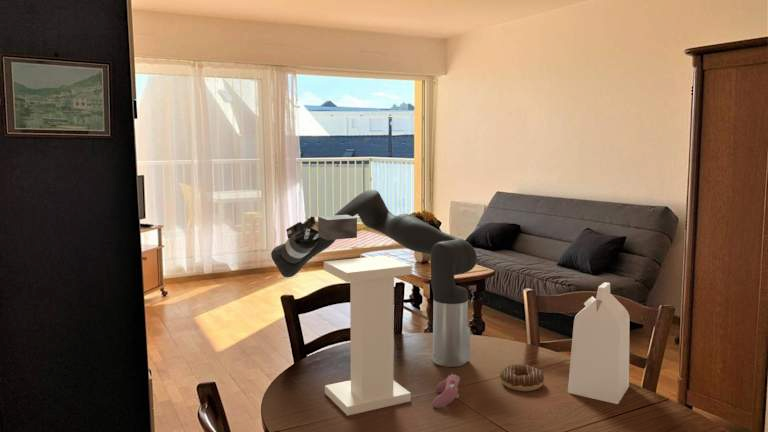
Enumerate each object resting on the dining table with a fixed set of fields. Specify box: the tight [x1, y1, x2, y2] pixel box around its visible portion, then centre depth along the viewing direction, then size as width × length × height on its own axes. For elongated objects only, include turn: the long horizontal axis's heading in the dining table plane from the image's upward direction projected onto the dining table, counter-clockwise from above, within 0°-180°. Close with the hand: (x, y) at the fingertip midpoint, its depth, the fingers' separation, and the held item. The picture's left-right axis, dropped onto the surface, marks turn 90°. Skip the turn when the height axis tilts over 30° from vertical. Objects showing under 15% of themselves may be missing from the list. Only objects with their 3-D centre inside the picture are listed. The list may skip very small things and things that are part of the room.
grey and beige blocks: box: [306, 214, 358, 241], centre depth 160 cm, size 8×21×5 cm, turn 27°
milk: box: [567, 281, 630, 405], centre depth 146 cm, size 12×12×26 cm
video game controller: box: [431, 373, 461, 409], centre depth 141 cm, size 10×5×7 cm, turn 169°
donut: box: [499, 363, 545, 392], centre depth 151 cm, size 11×11×4 cm
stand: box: [323, 254, 413, 416], centre depth 141 cm, size 16×13×32 cm
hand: (319, 219), depth 163 cm, fingers closed on grey and beige blocks, 3 cm apart
